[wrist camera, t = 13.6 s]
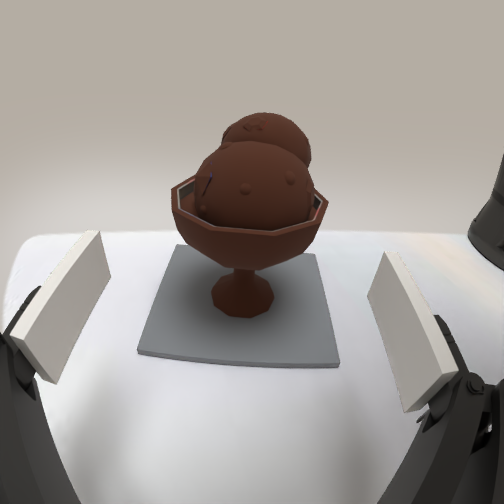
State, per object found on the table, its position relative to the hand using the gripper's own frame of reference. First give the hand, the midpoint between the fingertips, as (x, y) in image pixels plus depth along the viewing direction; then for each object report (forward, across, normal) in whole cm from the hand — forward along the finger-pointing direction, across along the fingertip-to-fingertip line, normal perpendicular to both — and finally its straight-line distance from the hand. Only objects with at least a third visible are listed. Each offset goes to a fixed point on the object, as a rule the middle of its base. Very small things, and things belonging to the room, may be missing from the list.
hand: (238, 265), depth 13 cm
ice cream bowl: (+8, 0, -10) cm, 13 cm away
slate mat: (+8, 0, -10) cm, 13 cm away
